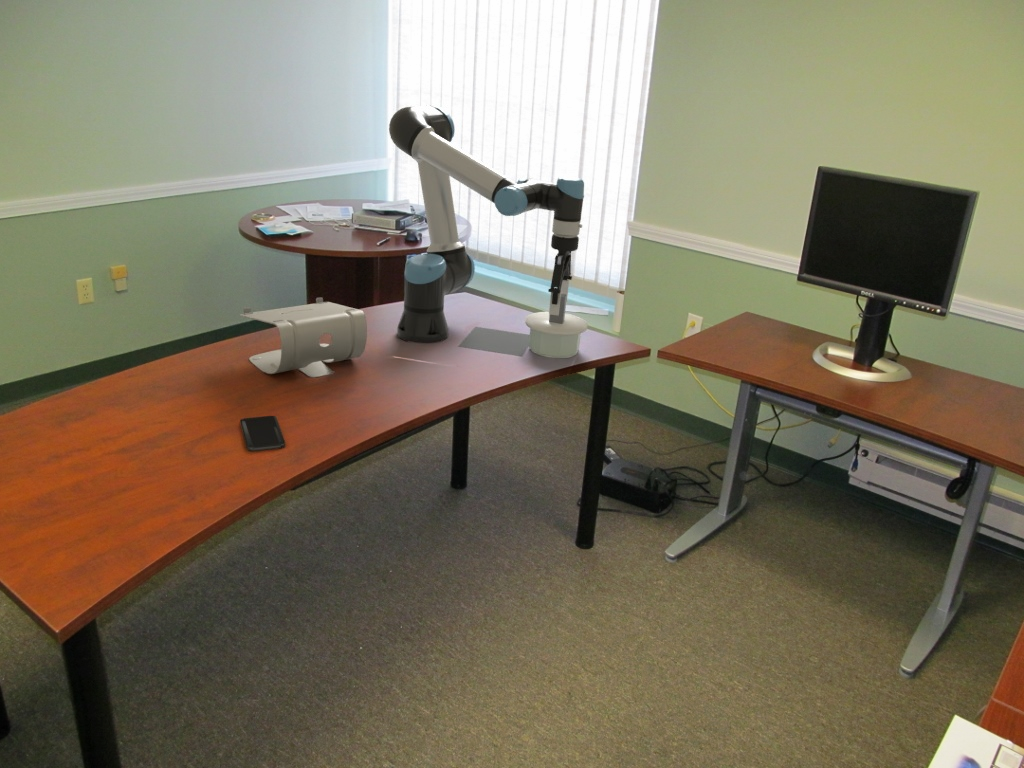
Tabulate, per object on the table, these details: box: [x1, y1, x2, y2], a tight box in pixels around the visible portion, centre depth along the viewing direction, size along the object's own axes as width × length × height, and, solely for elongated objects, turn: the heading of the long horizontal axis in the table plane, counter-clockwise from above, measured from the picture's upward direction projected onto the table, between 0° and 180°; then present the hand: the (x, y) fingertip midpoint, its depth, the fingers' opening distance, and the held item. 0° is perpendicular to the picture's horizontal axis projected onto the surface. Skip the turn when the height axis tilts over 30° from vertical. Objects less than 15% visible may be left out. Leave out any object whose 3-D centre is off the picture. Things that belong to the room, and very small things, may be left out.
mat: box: [457, 326, 530, 357], centre depth 243 cm, size 19×19×1 cm
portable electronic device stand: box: [239, 297, 368, 379], centre depth 214 cm, size 26×24×16 cm
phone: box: [240, 415, 286, 453], centre depth 178 cm, size 8×1×15 cm
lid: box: [524, 294, 589, 335], centre depth 236 cm, size 18×18×10 cm
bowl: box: [528, 328, 582, 359], centre depth 239 cm, size 14×14×8 cm
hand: (558, 308), depth 235 cm, fingers open, 13 cm apart
